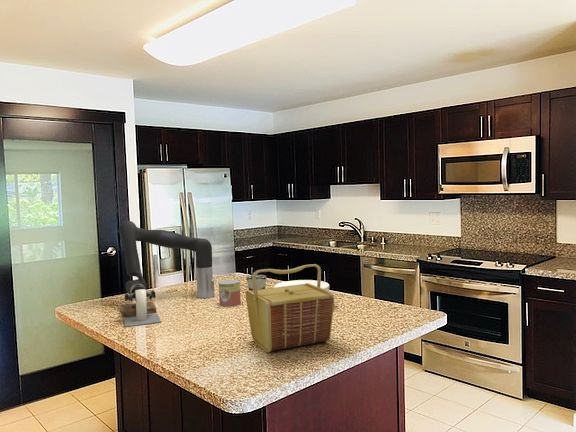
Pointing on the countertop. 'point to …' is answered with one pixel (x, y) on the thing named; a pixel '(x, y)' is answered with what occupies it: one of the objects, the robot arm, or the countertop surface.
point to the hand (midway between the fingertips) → (141, 298)
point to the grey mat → (134, 322)
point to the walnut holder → (131, 309)
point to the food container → (259, 282)
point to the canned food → (229, 293)
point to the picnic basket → (289, 313)
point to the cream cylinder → (141, 305)
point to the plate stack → (298, 282)
